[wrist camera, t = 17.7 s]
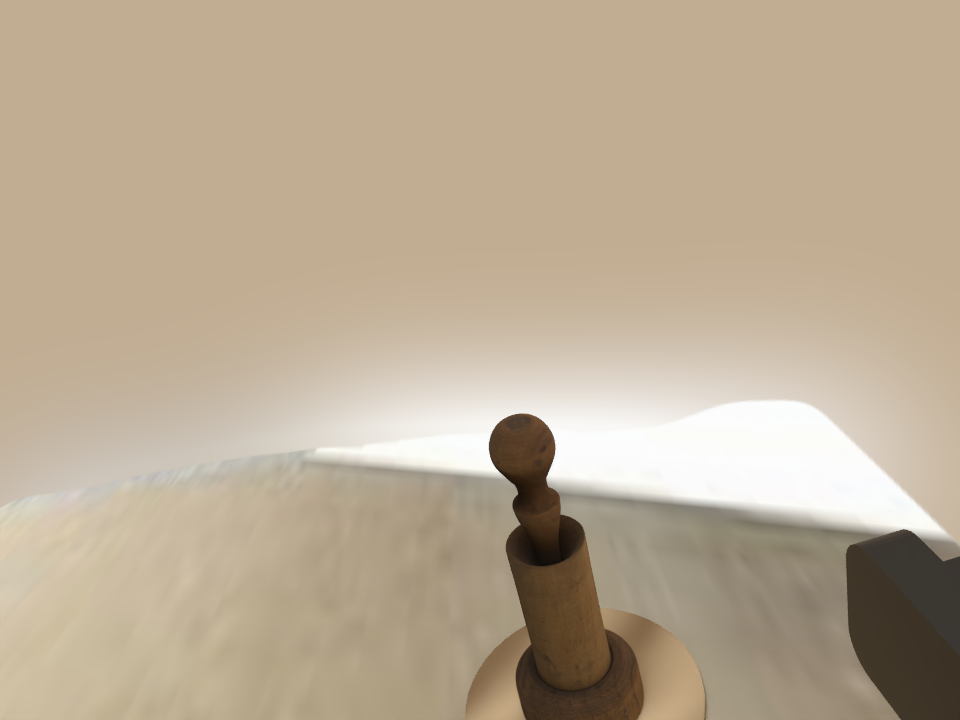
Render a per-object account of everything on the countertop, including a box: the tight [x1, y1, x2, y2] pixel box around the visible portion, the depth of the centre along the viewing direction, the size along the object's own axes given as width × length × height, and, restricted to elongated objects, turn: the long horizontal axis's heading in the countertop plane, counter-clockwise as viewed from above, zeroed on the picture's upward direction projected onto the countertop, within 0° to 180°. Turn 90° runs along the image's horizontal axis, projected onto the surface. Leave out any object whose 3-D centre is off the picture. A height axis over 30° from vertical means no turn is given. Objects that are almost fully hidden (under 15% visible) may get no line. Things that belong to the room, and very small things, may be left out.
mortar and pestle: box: [489, 414, 644, 720], centre depth 43 cm, size 7×6×18 cm
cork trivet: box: [465, 609, 706, 720], centre depth 47 cm, size 13×13×1 cm
